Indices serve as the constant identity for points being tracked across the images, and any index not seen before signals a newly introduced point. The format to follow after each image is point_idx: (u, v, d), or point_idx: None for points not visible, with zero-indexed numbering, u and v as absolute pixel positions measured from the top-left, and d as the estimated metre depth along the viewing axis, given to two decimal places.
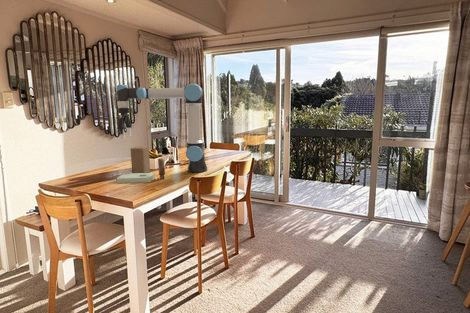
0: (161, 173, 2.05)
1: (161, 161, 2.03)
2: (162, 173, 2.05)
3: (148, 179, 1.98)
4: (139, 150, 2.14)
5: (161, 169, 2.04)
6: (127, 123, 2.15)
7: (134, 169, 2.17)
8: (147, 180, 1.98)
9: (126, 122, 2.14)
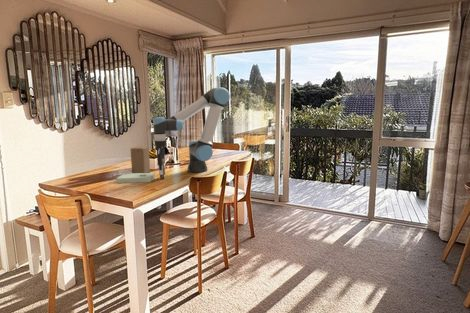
0: None
1: None
2: None
3: (148, 179, 1.98)
4: (139, 150, 2.14)
5: None
6: (162, 157, 2.07)
7: (134, 169, 2.17)
8: (147, 180, 1.98)
9: None
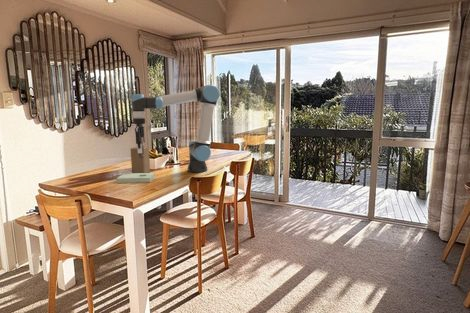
0: None
1: None
2: None
3: (148, 179, 1.98)
4: None
5: None
6: (141, 136, 2.02)
7: (134, 169, 2.17)
8: (147, 180, 1.98)
9: (140, 134, 2.01)
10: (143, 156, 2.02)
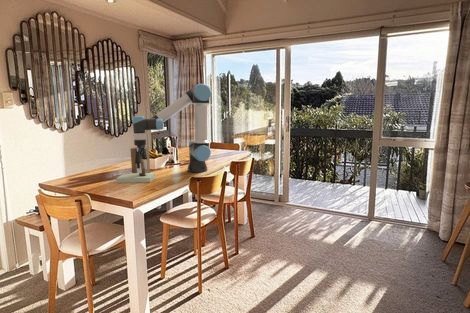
0: (141, 174, 2.02)
1: (141, 162, 2.01)
2: (142, 174, 2.03)
3: (148, 179, 1.98)
4: None
5: (141, 170, 2.02)
6: (143, 155, 2.06)
7: (134, 169, 2.17)
8: (147, 180, 1.98)
9: (142, 154, 2.06)
10: None
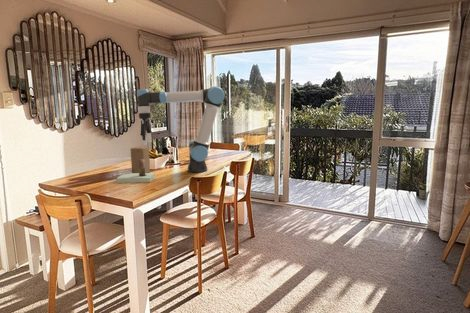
0: (141, 174, 2.02)
1: (141, 162, 2.01)
2: (142, 174, 2.03)
3: (148, 179, 1.98)
4: (139, 150, 2.14)
5: (141, 170, 2.02)
6: (147, 128, 2.09)
7: (134, 169, 2.17)
8: (147, 180, 1.98)
9: (147, 127, 2.08)
10: None
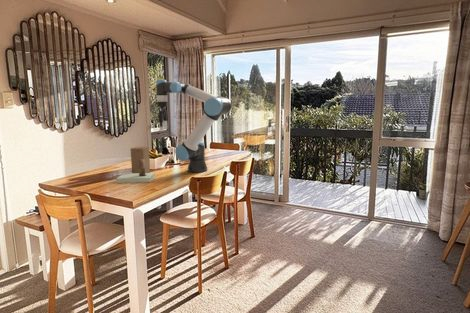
0: (141, 174, 2.02)
1: (141, 162, 2.01)
2: (142, 174, 2.03)
3: (148, 179, 1.98)
4: (139, 150, 2.14)
5: (141, 170, 2.02)
6: (164, 116, 2.26)
7: (134, 169, 2.17)
8: (147, 180, 1.98)
9: (163, 115, 2.25)
10: None
